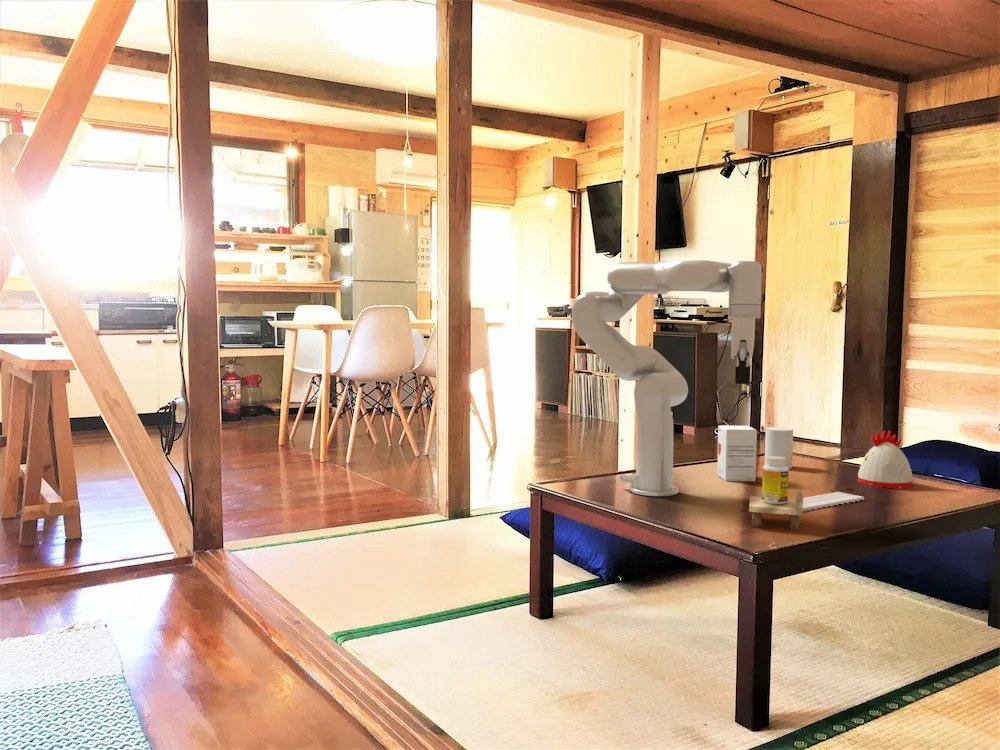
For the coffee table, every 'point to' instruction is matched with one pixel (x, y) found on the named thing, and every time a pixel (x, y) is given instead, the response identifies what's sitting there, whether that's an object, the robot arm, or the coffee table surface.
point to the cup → (779, 444)
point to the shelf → (777, 509)
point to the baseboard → (829, 500)
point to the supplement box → (737, 453)
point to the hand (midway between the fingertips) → (742, 382)
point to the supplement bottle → (775, 481)
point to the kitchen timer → (886, 464)
